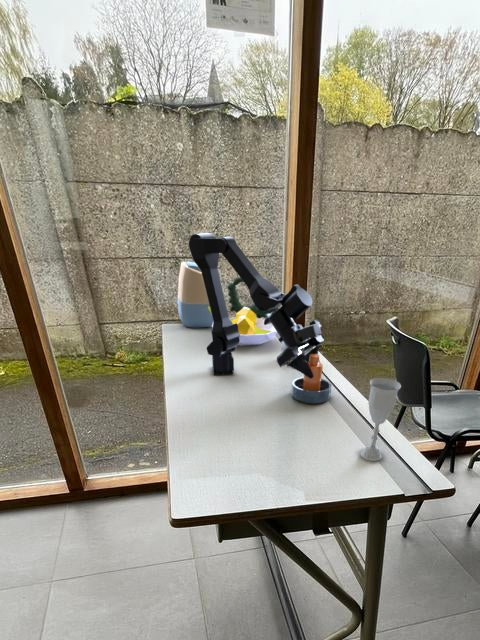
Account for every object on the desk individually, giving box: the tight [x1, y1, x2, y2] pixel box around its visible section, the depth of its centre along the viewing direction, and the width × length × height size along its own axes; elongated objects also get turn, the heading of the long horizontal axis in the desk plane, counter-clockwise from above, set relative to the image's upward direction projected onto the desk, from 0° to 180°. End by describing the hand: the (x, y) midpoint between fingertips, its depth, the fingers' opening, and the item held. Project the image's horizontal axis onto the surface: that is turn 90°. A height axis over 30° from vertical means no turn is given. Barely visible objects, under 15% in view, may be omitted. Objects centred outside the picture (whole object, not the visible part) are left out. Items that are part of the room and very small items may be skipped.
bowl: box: [291, 376, 332, 405], centre depth 132 cm, size 12×12×4 cm
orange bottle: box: [303, 354, 323, 391], centre depth 129 cm, size 5×5×12 cm
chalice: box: [360, 377, 402, 462], centre depth 100 cm, size 7×7×18 cm
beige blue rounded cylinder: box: [177, 261, 213, 328], centre depth 184 cm, size 17×17×23 cm
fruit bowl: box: [207, 306, 278, 347], centre depth 172 cm, size 28×27×11 cm
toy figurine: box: [227, 276, 281, 319], centre depth 194 cm, size 9×19×25 cm
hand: (316, 375), depth 128 cm, fingers closed on orange bottle, 5 cm apart
